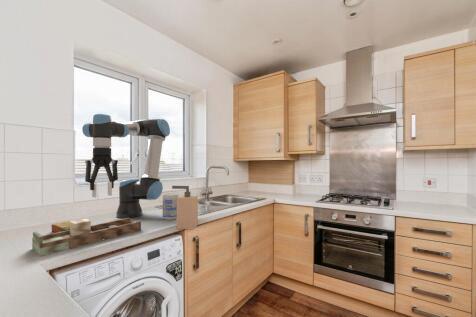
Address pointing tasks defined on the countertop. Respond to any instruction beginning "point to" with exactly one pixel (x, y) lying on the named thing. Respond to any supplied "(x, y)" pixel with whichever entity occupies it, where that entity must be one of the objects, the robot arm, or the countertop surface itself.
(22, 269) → the countertop surface
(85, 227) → the block
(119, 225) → the tray
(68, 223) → the carton
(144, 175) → the robot arm
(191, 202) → the soap dispenser
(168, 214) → the supplement tub
